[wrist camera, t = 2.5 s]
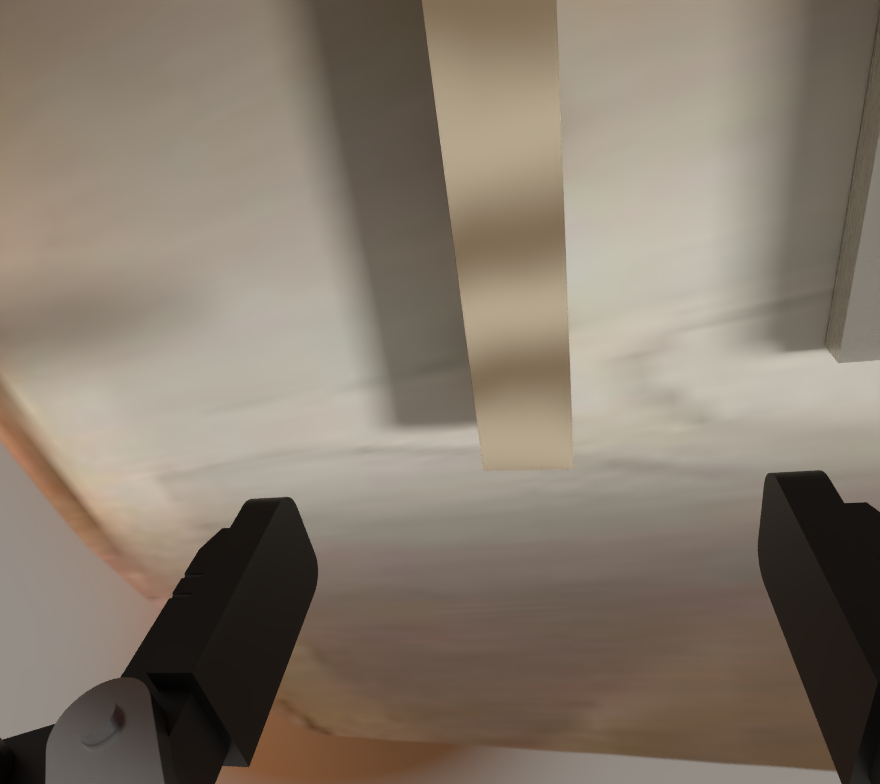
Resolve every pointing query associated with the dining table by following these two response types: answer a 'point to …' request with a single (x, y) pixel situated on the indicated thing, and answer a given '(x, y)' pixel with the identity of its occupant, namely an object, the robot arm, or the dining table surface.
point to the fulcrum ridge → (861, 243)
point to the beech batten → (507, 219)
